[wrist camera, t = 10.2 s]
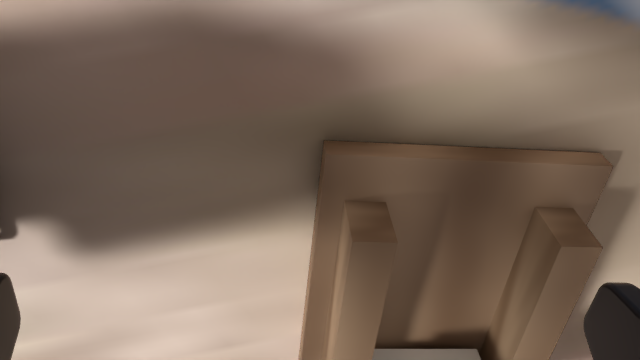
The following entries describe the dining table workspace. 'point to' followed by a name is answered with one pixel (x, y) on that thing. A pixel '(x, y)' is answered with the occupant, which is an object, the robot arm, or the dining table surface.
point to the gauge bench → (448, 249)
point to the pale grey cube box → (426, 354)
